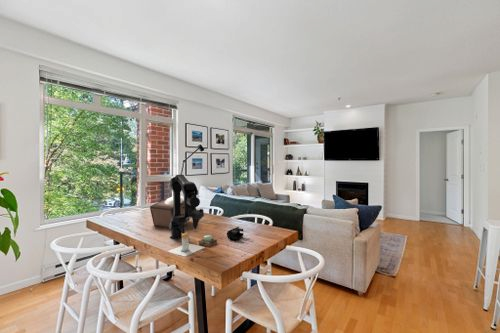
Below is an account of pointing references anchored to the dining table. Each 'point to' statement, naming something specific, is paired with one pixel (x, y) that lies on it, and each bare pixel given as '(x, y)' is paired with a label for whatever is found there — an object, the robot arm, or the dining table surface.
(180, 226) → the robot arm
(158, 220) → the tissue box
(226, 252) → the dining table surface
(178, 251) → the paper
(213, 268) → the dining table surface
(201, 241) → the button housing
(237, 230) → the end cap
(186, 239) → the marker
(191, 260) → the dining table surface
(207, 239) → the button
